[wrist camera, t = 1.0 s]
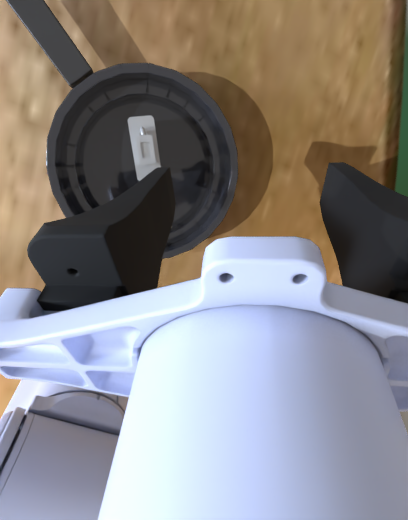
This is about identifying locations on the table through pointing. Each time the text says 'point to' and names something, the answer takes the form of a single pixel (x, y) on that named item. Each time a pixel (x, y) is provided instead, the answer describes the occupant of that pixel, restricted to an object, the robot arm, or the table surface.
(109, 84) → the pan
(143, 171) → the lighter
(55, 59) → the pan handle
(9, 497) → the robot arm
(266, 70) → the table surface
